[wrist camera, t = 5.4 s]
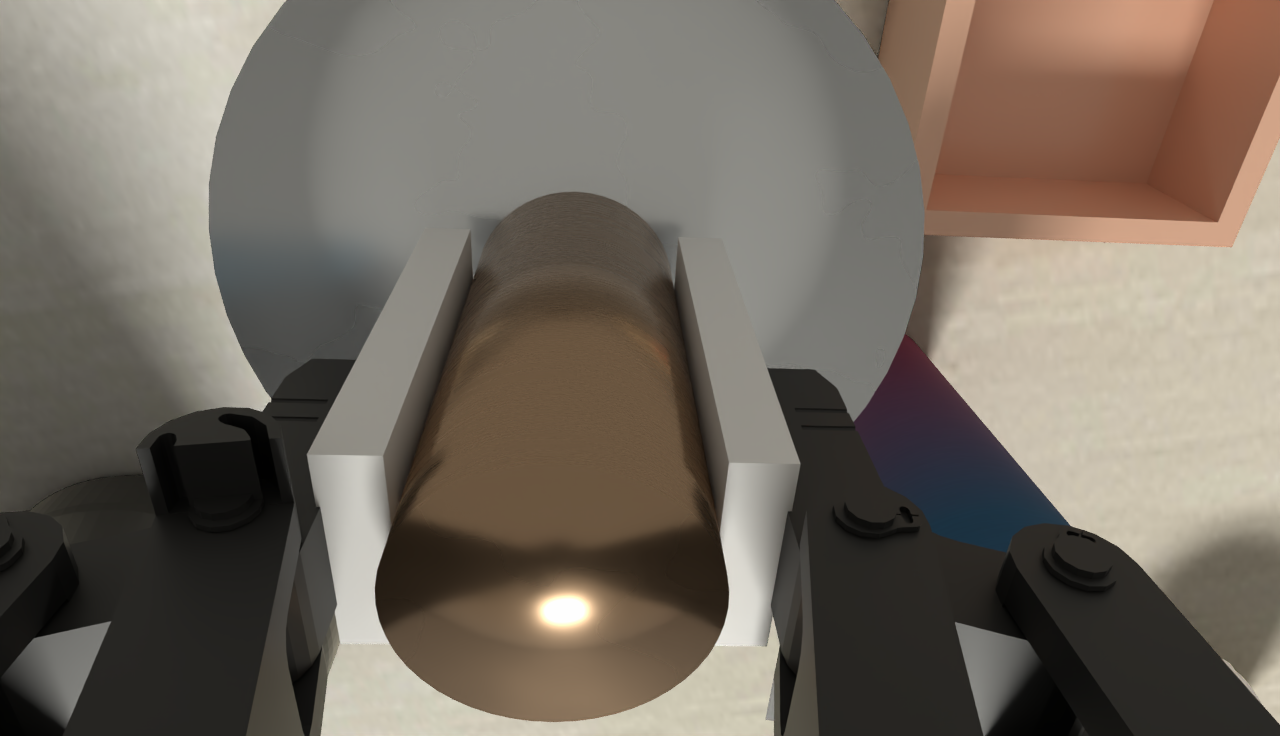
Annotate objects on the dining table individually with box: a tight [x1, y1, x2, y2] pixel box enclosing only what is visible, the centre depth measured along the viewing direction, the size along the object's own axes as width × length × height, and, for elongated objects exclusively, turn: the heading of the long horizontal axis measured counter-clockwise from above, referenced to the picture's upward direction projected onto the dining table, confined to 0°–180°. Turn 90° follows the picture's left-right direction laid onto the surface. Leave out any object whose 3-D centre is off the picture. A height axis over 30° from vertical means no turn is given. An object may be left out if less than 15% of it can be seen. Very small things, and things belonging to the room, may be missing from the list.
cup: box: [854, 334, 1070, 553], centre depth 28 cm, size 7×7×15 cm
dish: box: [878, 0, 1280, 247], centre depth 26 cm, size 11×11×5 cm
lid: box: [209, 0, 925, 722], centre depth 12 cm, size 13×13×9 cm
